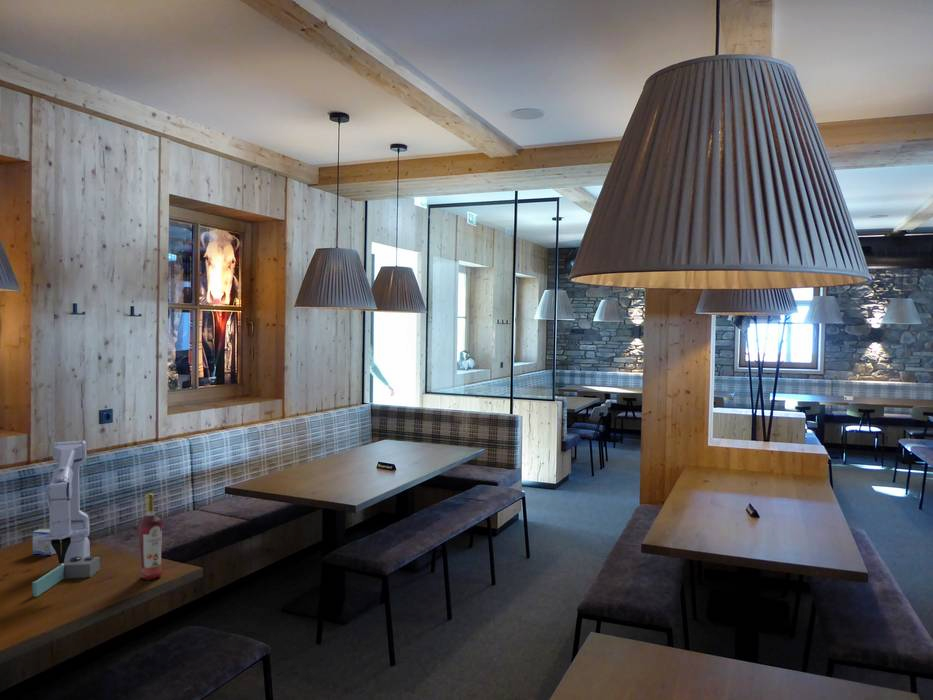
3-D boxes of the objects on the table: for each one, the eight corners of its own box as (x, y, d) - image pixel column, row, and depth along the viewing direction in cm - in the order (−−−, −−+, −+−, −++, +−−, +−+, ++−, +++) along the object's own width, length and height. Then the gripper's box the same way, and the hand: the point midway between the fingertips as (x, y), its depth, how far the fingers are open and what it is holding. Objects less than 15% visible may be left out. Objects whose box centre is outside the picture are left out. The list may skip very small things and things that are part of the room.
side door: (59, 578, 226) (59, 563, 226) (65, 578, 226) (64, 563, 226) (31, 597, 210) (30, 581, 210) (37, 597, 211) (37, 581, 210)
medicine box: (32, 555, 249) (31, 531, 249) (41, 551, 254) (41, 528, 253) (51, 556, 248) (50, 532, 248) (60, 552, 253) (59, 529, 252)
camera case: (72, 570, 233) (72, 556, 233) (99, 569, 234) (99, 555, 234) (62, 578, 226) (61, 563, 226) (90, 577, 227) (89, 562, 227)
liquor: (146, 583, 222) (144, 498, 220) (135, 578, 226) (132, 495, 225) (167, 576, 227) (165, 493, 226) (156, 571, 232) (154, 490, 231)
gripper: (33, 527, 208) (34, 570, 208) (87, 519, 216) (88, 561, 216) (32, 521, 213) (34, 564, 214) (85, 513, 221) (86, 555, 222)
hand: (61, 562), depth 216 cm, fingers closed
